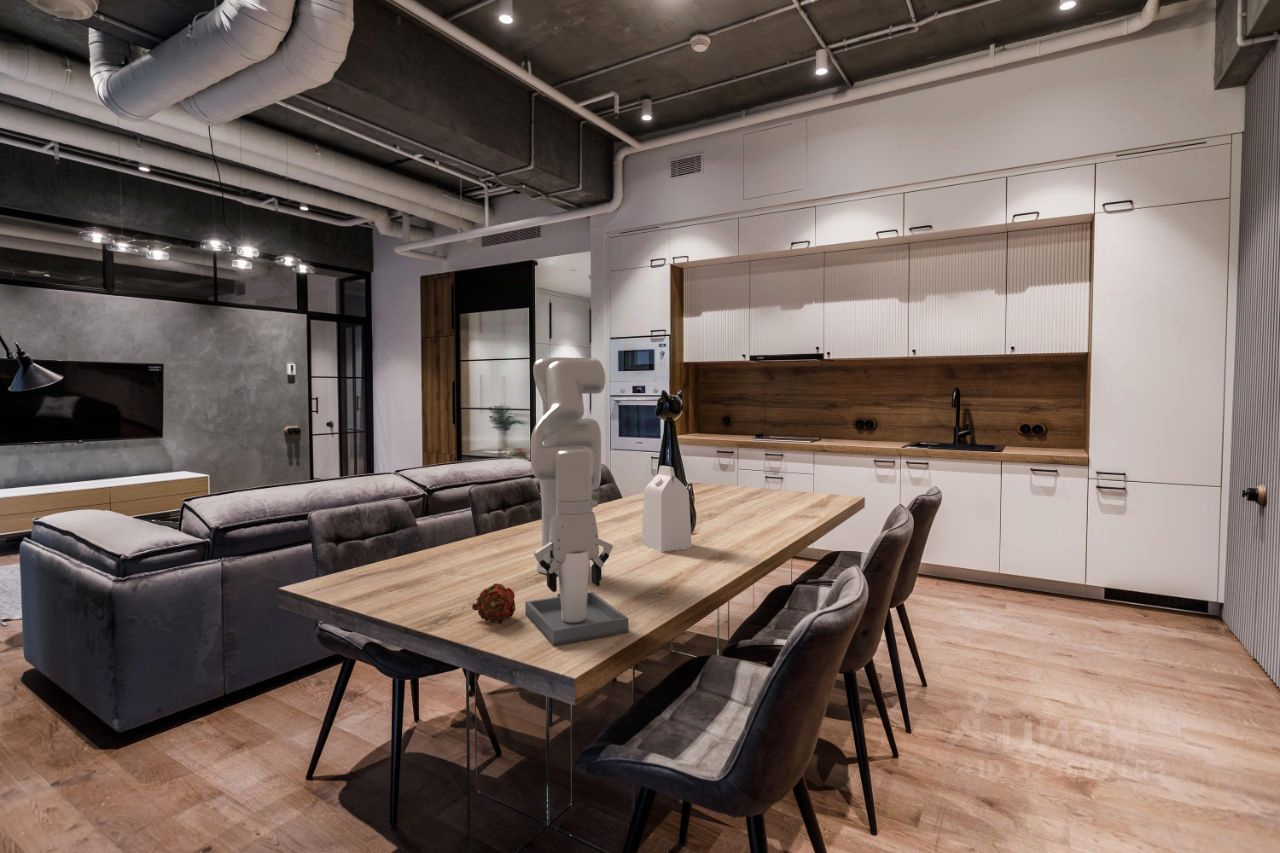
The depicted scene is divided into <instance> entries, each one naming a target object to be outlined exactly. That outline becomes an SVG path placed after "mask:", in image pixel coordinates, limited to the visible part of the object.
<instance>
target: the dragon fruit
mask: <svg viewBox="0 0 1280 853" xmlns="http://www.w3.org/2000/svg"><path fill="white" fill-rule="evenodd" d="M475 600H476V602H473V603H472V604H471V608H472V610H473V611H477V613H478V616H479V617H480V618H481V619H482V620H483V621H485V622H488V621H489V622H491V623H493V624H502V623H503V621H506V620H507V619H509V618H510V619H511V618H512V617H513V616H514V613H515V611H516V602H515V592H514V591H513V590H512V589H511V588H510V587H505V585H504V584H502V583H496V582H495V583H493V584H492V585H491V586H489V587H487V588H484V589H483V590H482V591H481V592H480V593H479V596H478V597H477V598H476V599H475Z"/></svg>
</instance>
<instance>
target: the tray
mask: <svg viewBox="0 0 1280 853" xmlns="http://www.w3.org/2000/svg"><path fill="white" fill-rule="evenodd" d="M524 605H525V606H524V607H525V613H524V614H525V616H526V617H527V618H528V619H529V621H530V622H531V623H532V624H533V625H534V626H535V628H537V630H538V631H539V632H540V633H541V634H542V635H543V636H544V637H545V638H546V640H547V641H548V642H549V643H550V644H551V645H552V646H553V647H557V646H562V645H567V644H574V643H578V642H579V643H580V642H585V641H591V640H595V639H600V638H607V636H608V637H613V636H617V634H619V635H624V634H628V632H629V629H630V628H629V624H630V623H629V618H628V617H627V616H626V615H625V614H623V613H622V612H620V611H619V610H618V609H616V607H614V606H612V605H611V604H610V603H608V602H607V601H606V600H604V598H601V597H600V596H599V595H597V594H596V593H595V592H594V591H588V596H587V617H586V619H585V620H584V621H582V622H579V623H567V622H565V621H563V620H562V617H561V600H560V597H558V596H555V597H554V596H553V597H547V598H541V599H535V600H527V601H525V602H524ZM623 633H624V634H623ZM612 635H613V636H612Z"/></svg>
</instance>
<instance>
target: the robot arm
mask: <svg viewBox="0 0 1280 853" xmlns="http://www.w3.org/2000/svg"><path fill="white" fill-rule="evenodd" d="M532 371H533V377H534V378H533V379H534V383H535V385H536V388H537V390H538V393H539V395H540V398H541V401H542V402H541V403H542V417H541V418H540V419H539V420H538V422H536V424H535V425H534V428H533V430H532V432H531V436H530V466H531V471H532V473H533V475H534V477H535V478H536V479H537V480H538V482H539V487H540V499H541V543H542V544H541V545H542V546H541V547H540V548H538V549H537V550H535V551H534V552H533V555H534V558H535V560H536V561H537V563H538V564H537V566H536V570H537V572H538V573H541V574H545V575H546V586H547V587H548V588H549V590H550V591H551V592H552V593H556V592H557V590H558V587H557V584H558V583H557V582H558V581H557V580H558V578H557V577H558V565H559V564H560V563H564V562H565V558H566V554H577V553H583V552H586V551H587V552H588V557H589V560H590V561H592V565H591V568H590V569H591V571H590V572H591V575H590V576H591V583H592V584H593V585H594V586H596V587H600V585H601V581H602V568H603V567H604V566H605V565H604V564H605V562H607V560H609V558H610V554H611V552H612V550H613V544H611V543H609V542H607V541H605V540H603V539H600V538H599V530H598V525H597V519H596V515H595V512H593V509H594V508H595V507H598V504H599V502H598V500H594V499H593V498H592V491H594V490H596V489H598V488H599V486H600V484H601V478H602V433H601V432H602V431H601V428H600V424H599V423H598V421H597V420H595V418H589V417H588V418H587V417H584V416H585V415H584V414H585V405H584V398H583V397H584V396H583V395H584V394H585V395H586V394H587V395H589V394H590V395H591V394H601V393H602V392H603V391H604V389H605V386H606V373H605V372H606V371H605V369H604V366H603V364H602V363H601V361H600V360H598V359H597V358H594V357H561V356H560V357H544V358H540V359H538V360H535V362H534V363H533V368H532ZM600 547H602V548H603V550H602V552H601V553H600V551H599V550H600ZM599 553H600V554H599Z"/></svg>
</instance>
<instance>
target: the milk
mask: <svg viewBox="0 0 1280 853" xmlns="http://www.w3.org/2000/svg"><path fill="white" fill-rule="evenodd" d="M674 469H675V468H674V467H673V466H667V465H659V467H658V472H657V474H656V475H655V476H654V478H652V480H650V481H649V483H647V485H646V486H645V488H644V491H643V492H644V493H643V512H642V513H643V515H642V533H641V535H642V537H641V545H642V544H643V545H645V546H644V547H646V546H648V547H650V548H649V549H651V548H653V549H655V550H654V551H656V550H658V551H660V552H659V553H661V552H662V553H664V552H663V551H669V552H671V551H670V550H676V551H678V550H677V549H683V548H690V547H692V548H693V546H692V527H691V509H690V508H691V507H690V494H689V493H690V492H689V490H688V487H686V486H685V485H684V484H683V483H682V481H680V480H679V479H678V478H677V477H676V474H675V470H674ZM643 545H642V546H643ZM648 547H647V548H648ZM653 549H652V550H653ZM690 549H691V548H690ZM683 550H684V549H683ZM658 551H657V552H658Z"/></svg>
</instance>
